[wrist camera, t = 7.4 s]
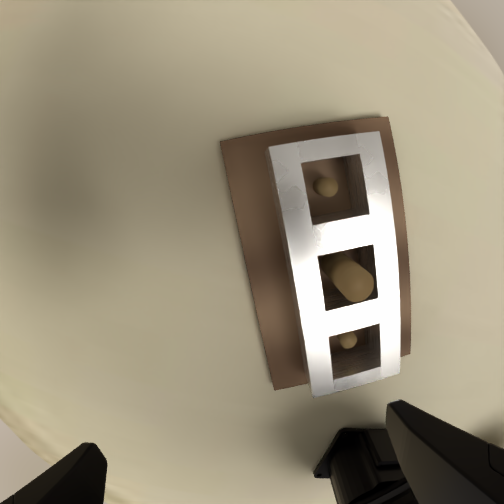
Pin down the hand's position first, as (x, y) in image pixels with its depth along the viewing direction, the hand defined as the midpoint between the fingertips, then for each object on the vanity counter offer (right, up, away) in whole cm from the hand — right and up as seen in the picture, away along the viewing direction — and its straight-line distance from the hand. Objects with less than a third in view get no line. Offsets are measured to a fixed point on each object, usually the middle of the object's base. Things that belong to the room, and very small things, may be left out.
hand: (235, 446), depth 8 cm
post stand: (+5, +5, +11) cm, 13 cm away
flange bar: (+5, +5, +11) cm, 13 cm away
